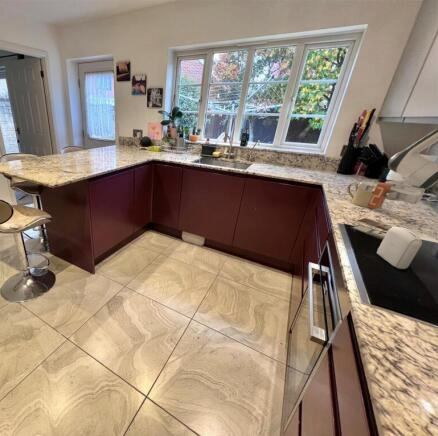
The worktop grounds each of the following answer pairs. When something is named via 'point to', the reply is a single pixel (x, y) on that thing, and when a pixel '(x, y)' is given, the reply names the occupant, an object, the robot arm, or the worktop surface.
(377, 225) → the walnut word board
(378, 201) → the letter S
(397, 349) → the worktop surface
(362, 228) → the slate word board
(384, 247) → the photo printer
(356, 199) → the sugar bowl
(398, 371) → the worktop surface
